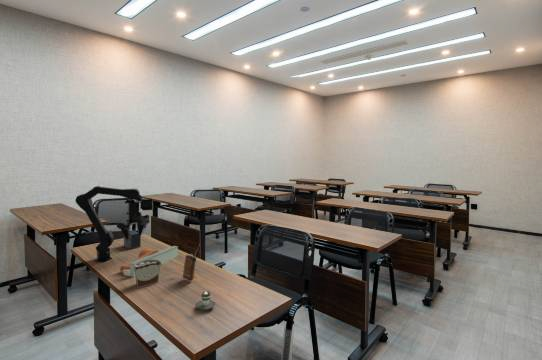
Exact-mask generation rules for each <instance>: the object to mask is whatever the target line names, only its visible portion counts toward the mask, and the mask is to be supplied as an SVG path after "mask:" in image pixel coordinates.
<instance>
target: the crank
mask: <svg viewBox="0 0 542 360" xmlns="http://www.w3.org/2000/svg"><path fill="white" fill-rule="evenodd" d="M159 251H160V250H159ZM159 251H158V250H154V249H151V248H143V249H142V250H140V252H139V254H138V258H136V259H135V260H133V261H132V262H134V261H136V260H139V259H141V258H144V257H146V256H149V255H152V254H154V253H157V252H159ZM125 269H127V270H130V263H128V264H122V265H121V266H120V267H119V271H120V273H121V274H124V270H125Z"/></svg>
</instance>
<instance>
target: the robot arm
mask: <svg viewBox="0 0 542 360" xmlns="http://www.w3.org/2000/svg"><path fill="white" fill-rule="evenodd" d="M98 194H99V195H106V196H108V195H109V196H116V197H117V196H118V197H123V198H125V199H126V200H125V201H124V204H127V205H128V206H127V208H128V210H127V211H128V212H126V215H128V216H127V217H128V218H127V219H126V221H119V222H117V223H116V228H118V229H119V230H120V231H121V232H122V233H123V237H124V236H125V237H126V239H128V238H129V231H131V230H130V229H131V226H133V225H136V227H137V232H138V233H139V236H142V234H143V232H144V228H145V227H146V226H147V225H148V224H149V223H150V215H149V214H145V215H142V212H141V211H153V210H154V202H153V201H154V199H153V198H144V197H143V196H142V195H141V194H140V191H139V188H138V189H137V188H114V187H105V186H100V185H96V186H94V187H93V188H91V189H90V190H88V191H87V192H85V193H82V194H79V195H77V196H76V198H75V203H76V204H77V206H78V207H79V208H80V209H81V210H83V211H84V212H85V214H86V216H87V217H88V219H89V221H90V223H91V224H92V226H93V228H94V230H95V231H96V233H97V236H98V241H99V243H98V245H96V246H95V250H96V258H94V259H93V261H97V262H101V263H102V262H106V261H109V260H112V259H113V257H111V249H110V247H111V246H112V244H113V243H114V241H115V238H114V237H115V235H114V234H113V232H112V230H109V231H108V230H107V229H106V228H105V226H104V224H103V222H102V221H101V219H100V217H99V215H98V214H97V212H96V210H95V208H94V204H93V200H92V198H94V197H95V196H97V195H98ZM140 210H141V211H140Z"/></svg>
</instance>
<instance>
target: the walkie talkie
mask: <svg viewBox="0 0 542 360" xmlns="http://www.w3.org/2000/svg"><path fill="white" fill-rule="evenodd" d="M200 246H201V244H200V243H199V244H198V246H197V249H196V250H195V253H194V254H193V253H190V254H186V255H185V259H184V263H183V264H184V265H183V273H182V274H181V273H179V274H173V277H174V276H182V277H183V279H185V280H188V281H194V277H196V278H197V277H198V274H195V268H196V262H197V257H196V255H197V252H198V250H199V247H200ZM165 278H171V275H170V276H169V275H168V276H166V277H165Z"/></svg>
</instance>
